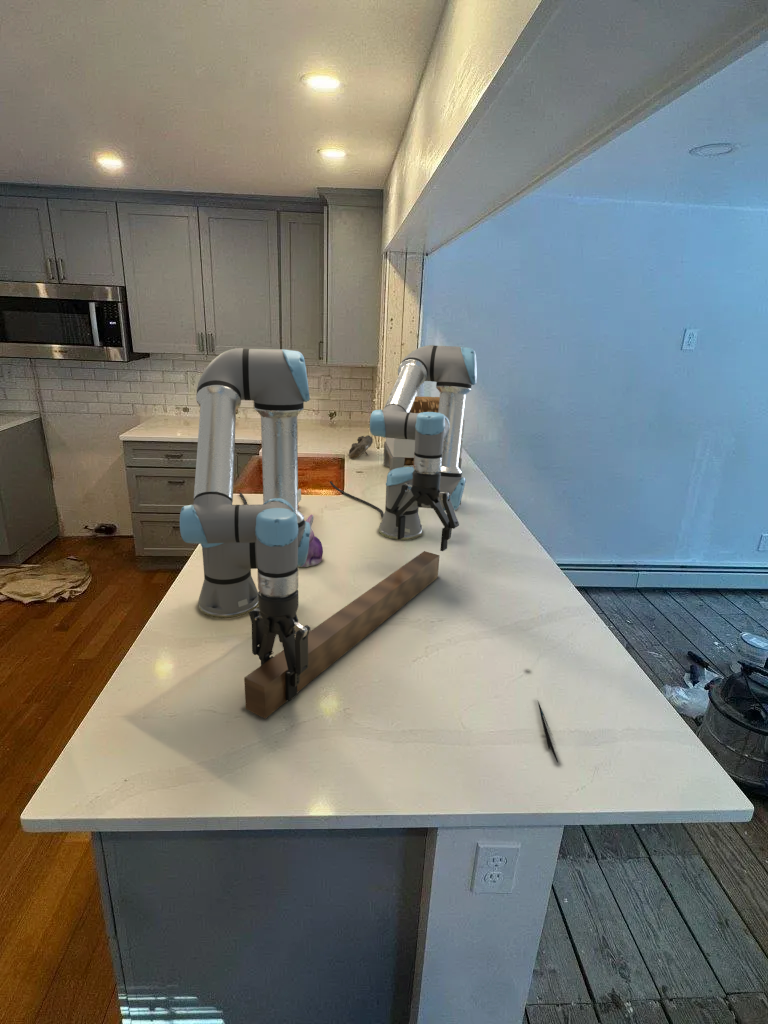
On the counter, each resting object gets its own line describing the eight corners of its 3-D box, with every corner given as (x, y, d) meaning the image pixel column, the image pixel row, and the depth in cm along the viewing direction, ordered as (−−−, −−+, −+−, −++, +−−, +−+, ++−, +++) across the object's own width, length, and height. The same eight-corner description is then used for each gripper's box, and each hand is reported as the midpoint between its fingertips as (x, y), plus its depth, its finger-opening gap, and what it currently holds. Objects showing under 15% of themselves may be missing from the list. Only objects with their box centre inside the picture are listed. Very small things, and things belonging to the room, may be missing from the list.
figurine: (300, 570, 169) (299, 523, 164) (289, 557, 177) (288, 512, 172) (329, 565, 173) (330, 519, 168) (317, 552, 181) (317, 508, 176)
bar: (422, 573, 171) (424, 550, 168) (437, 577, 169) (439, 555, 166) (245, 708, 111) (243, 677, 108) (265, 719, 108) (264, 687, 106)
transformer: (382, 463, 289) (386, 382, 275) (445, 464, 293) (451, 384, 279) (390, 482, 257) (394, 392, 243) (460, 483, 261) (468, 394, 247)
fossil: (348, 441, 313) (370, 426, 308) (359, 455, 316) (380, 440, 311) (342, 455, 293) (365, 439, 288) (353, 469, 296) (376, 454, 291)
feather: (528, 675, 127) (534, 669, 126) (557, 767, 100) (564, 760, 99) (522, 671, 126) (527, 665, 126) (550, 762, 100) (557, 755, 99)
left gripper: (228, 583, 109) (234, 685, 116) (303, 612, 100) (303, 719, 108) (256, 570, 115) (259, 667, 123) (328, 595, 106) (327, 698, 114)
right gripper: (380, 465, 155) (377, 537, 162) (464, 482, 143) (456, 559, 150) (394, 460, 161) (390, 529, 168) (475, 476, 149) (468, 550, 157)
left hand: (280, 691), depth 115 cm, fingers closed on bar, 5 cm apart
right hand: (421, 543), depth 159 cm, fingers open, 13 cm apart
